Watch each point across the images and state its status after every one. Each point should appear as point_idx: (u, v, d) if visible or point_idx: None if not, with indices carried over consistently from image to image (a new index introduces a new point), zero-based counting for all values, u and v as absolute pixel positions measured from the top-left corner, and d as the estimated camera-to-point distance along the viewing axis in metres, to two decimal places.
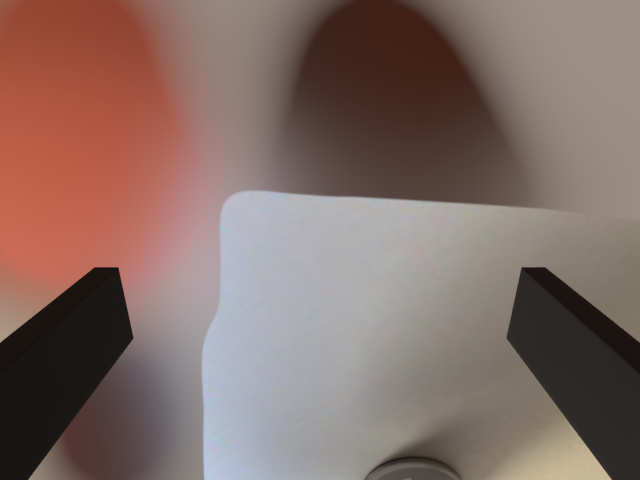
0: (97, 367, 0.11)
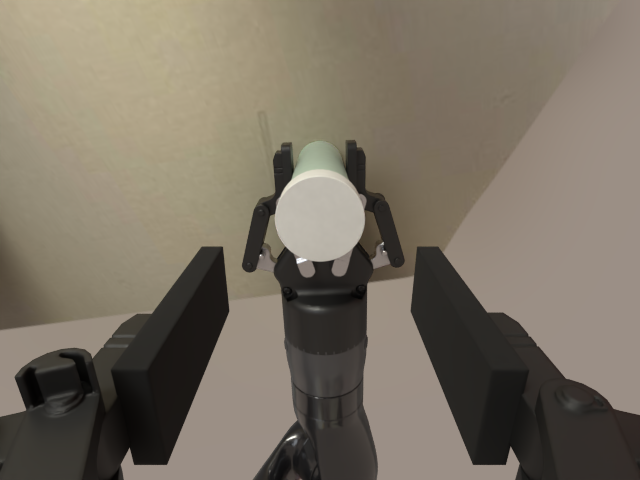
0: (213, 332, 0.13)
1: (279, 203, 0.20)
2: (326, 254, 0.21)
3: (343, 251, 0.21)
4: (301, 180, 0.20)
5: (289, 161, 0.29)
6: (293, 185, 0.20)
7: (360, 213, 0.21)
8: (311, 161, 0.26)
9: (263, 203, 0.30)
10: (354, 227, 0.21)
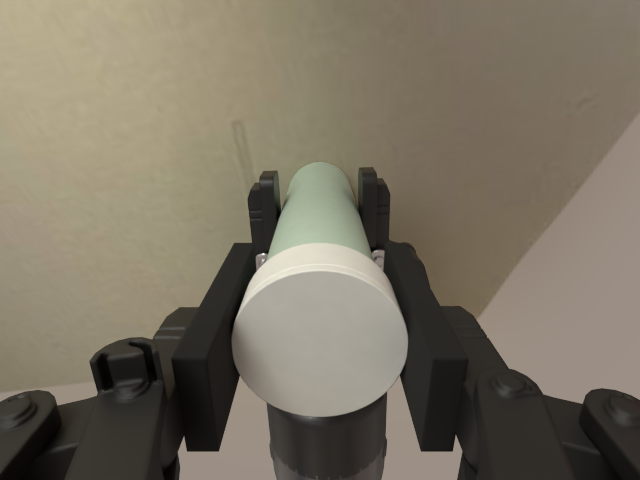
0: None
1: (238, 319, 0.10)
2: (332, 406, 0.11)
3: (364, 400, 0.11)
4: (281, 277, 0.10)
5: (272, 202, 0.18)
6: (265, 286, 0.10)
7: (400, 337, 0.10)
8: (305, 208, 0.16)
9: None
10: (387, 361, 0.11)
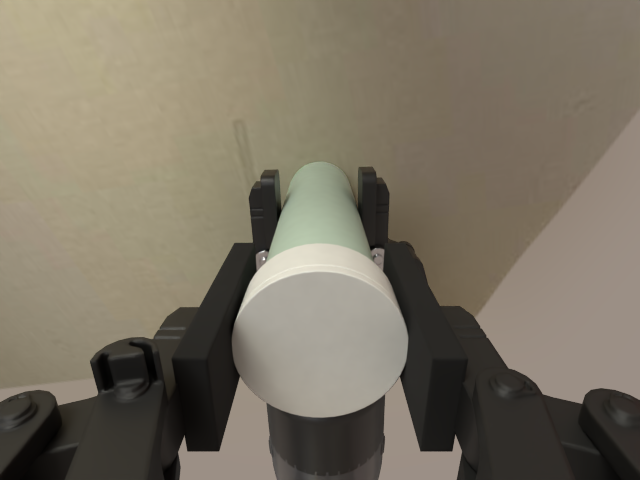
0: None
1: (295, 413, 0.11)
2: (392, 332, 0.10)
3: (383, 303, 0.10)
4: (247, 384, 0.11)
5: (273, 200, 0.19)
6: (258, 395, 0.11)
7: (293, 282, 0.10)
8: (306, 207, 0.16)
9: None
10: (326, 289, 0.10)
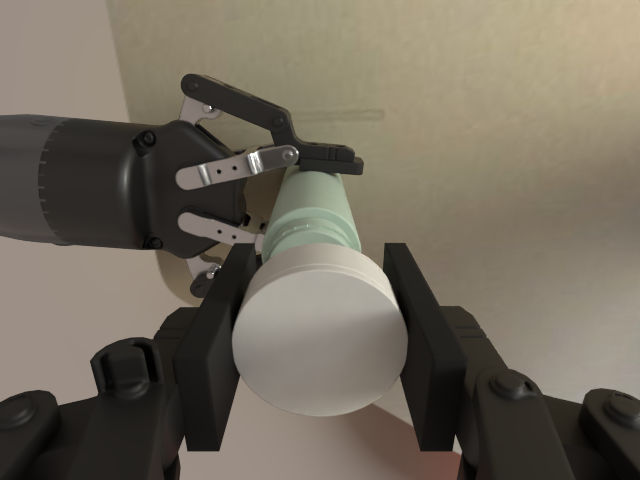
0: None
1: (295, 412, 0.11)
2: (392, 331, 0.10)
3: (382, 302, 0.10)
4: (247, 383, 0.11)
5: (343, 171, 0.22)
6: (258, 394, 0.11)
7: (293, 282, 0.10)
8: None
9: (289, 125, 0.21)
10: (326, 288, 0.10)
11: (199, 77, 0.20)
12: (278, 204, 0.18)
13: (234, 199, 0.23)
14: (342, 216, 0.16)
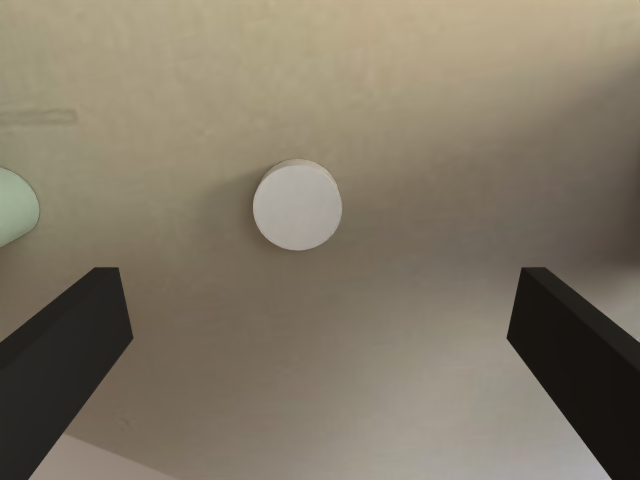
0: (97, 367, 0.11)
1: (285, 247, 0.22)
2: (333, 198, 0.21)
3: (327, 182, 0.20)
4: (260, 230, 0.21)
5: None
6: (266, 237, 0.21)
7: (283, 171, 0.20)
8: None
9: None
10: (299, 175, 0.20)
11: None
12: None
13: None
14: None
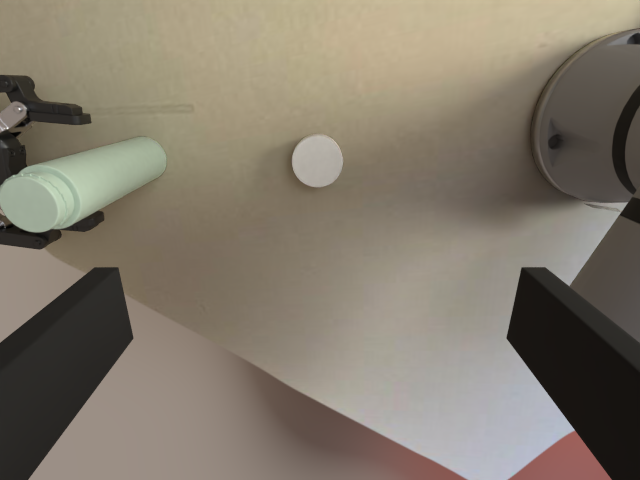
0: (97, 367, 0.11)
1: (309, 185, 0.37)
2: (338, 155, 0.36)
3: (334, 146, 0.36)
4: (295, 174, 0.37)
5: (63, 122, 0.30)
6: (299, 178, 0.37)
7: (310, 139, 0.36)
8: (113, 178, 0.28)
9: (17, 86, 0.29)
10: (319, 141, 0.36)
11: None
12: None
13: (5, 166, 0.31)
14: (62, 171, 0.24)
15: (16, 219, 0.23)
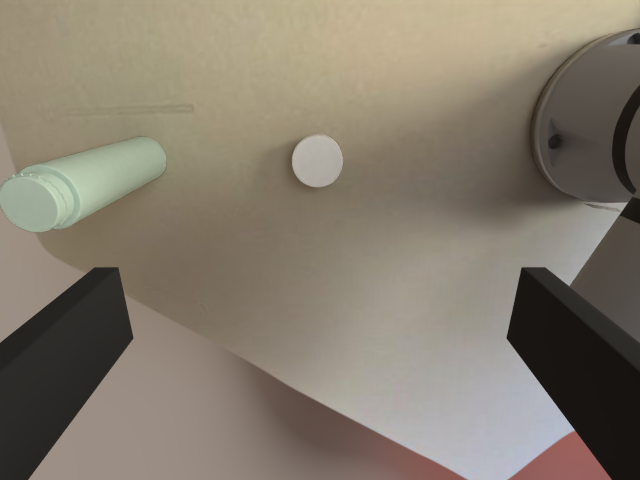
0: (97, 367, 0.11)
1: (309, 185, 0.37)
2: (338, 155, 0.36)
3: (334, 146, 0.36)
4: (295, 174, 0.37)
5: None
6: (299, 178, 0.37)
7: (310, 139, 0.36)
8: (113, 178, 0.28)
9: None
10: (319, 141, 0.36)
11: None
12: None
13: None
14: (62, 171, 0.24)
15: (16, 219, 0.23)
